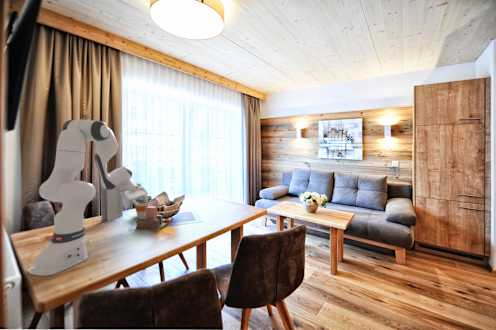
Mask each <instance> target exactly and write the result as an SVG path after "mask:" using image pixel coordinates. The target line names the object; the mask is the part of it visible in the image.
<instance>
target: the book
mask: <svg viewBox="0 0 496 330" xmlns="http://www.w3.org/2000/svg"><path fill="white" fill-rule="evenodd" d="M157 215H158V206H156V205H154V206H153V205H151V206H148V207H146V217H145V218H150V219H157Z"/></svg>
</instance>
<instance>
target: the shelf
mask: <svg viewBox="0 0 496 330" xmlns="http://www.w3.org/2000/svg"><path fill="white" fill-rule="evenodd" d="M135 219H136V226H135V230H140V231H148V232H156V233H157V232H159V231H160V230H162V229H164V228H165V227H167V226H168V223H167V222H162V224H159V219H150V218H146V217H144V218H139V217H136V218H135Z"/></svg>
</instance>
